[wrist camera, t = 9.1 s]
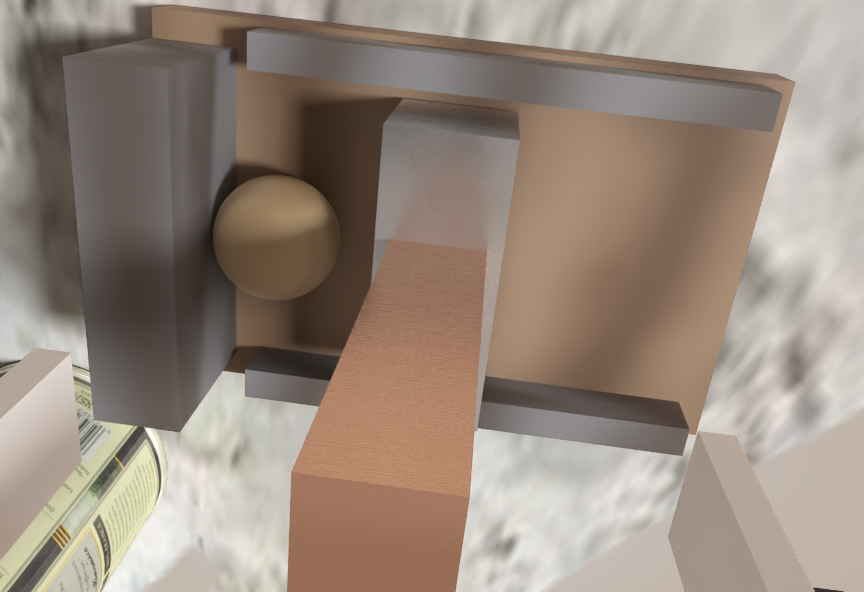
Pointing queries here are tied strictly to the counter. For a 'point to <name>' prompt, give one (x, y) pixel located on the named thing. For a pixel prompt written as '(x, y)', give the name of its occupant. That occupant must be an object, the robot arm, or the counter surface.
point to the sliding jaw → (410, 364)
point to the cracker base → (357, 206)
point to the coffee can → (90, 507)
